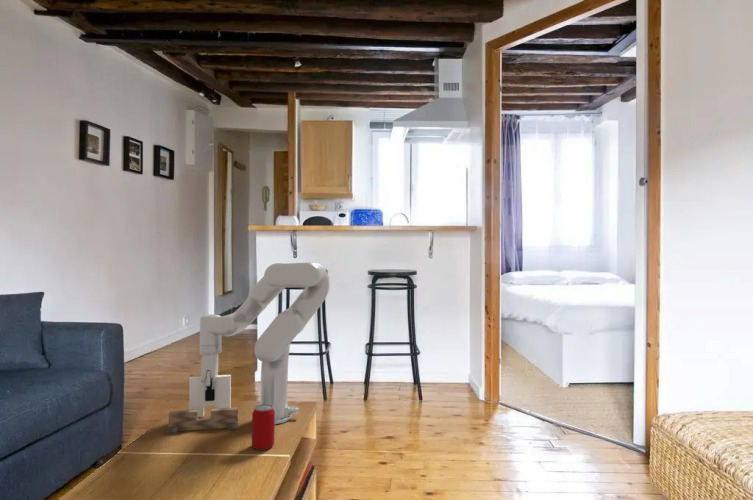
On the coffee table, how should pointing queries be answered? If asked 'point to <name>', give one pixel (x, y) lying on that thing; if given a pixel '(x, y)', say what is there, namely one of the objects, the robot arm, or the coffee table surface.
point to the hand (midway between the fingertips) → (210, 399)
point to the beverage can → (263, 427)
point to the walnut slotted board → (202, 420)
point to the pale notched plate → (198, 392)
